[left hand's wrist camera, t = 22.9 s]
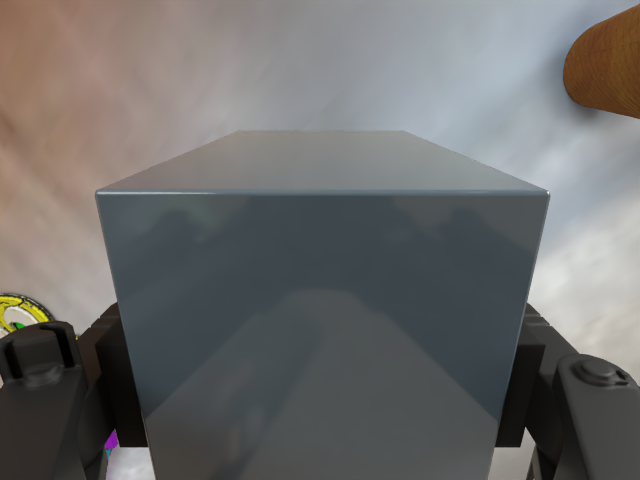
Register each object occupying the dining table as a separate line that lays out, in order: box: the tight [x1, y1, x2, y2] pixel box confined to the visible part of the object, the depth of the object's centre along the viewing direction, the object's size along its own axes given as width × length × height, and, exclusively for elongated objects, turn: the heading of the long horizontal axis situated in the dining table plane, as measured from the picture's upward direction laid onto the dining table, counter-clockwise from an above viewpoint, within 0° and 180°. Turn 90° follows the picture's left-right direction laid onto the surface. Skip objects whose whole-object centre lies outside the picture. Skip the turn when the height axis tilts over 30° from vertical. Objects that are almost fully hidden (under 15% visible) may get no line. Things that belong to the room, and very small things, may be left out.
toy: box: [0, 294, 79, 340], centre depth 38 cm, size 10×1×15 cm
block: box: [95, 131, 550, 480], centre depth 13 cm, size 7×9×11 cm
